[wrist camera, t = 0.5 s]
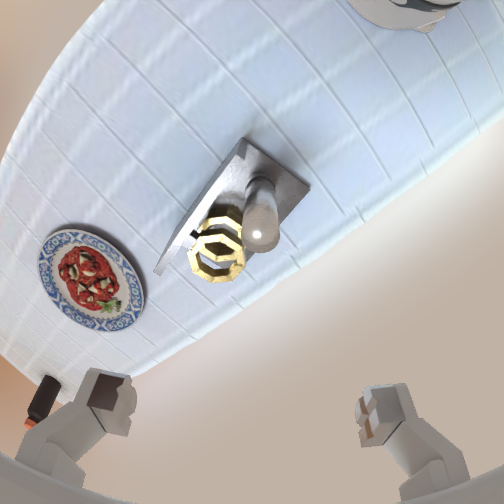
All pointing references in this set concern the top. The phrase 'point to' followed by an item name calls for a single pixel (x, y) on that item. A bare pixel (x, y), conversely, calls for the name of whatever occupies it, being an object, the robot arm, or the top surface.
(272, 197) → the grey metal rod
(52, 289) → the ceramic plate
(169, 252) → the collar stand
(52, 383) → the bottle
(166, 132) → the top surface
